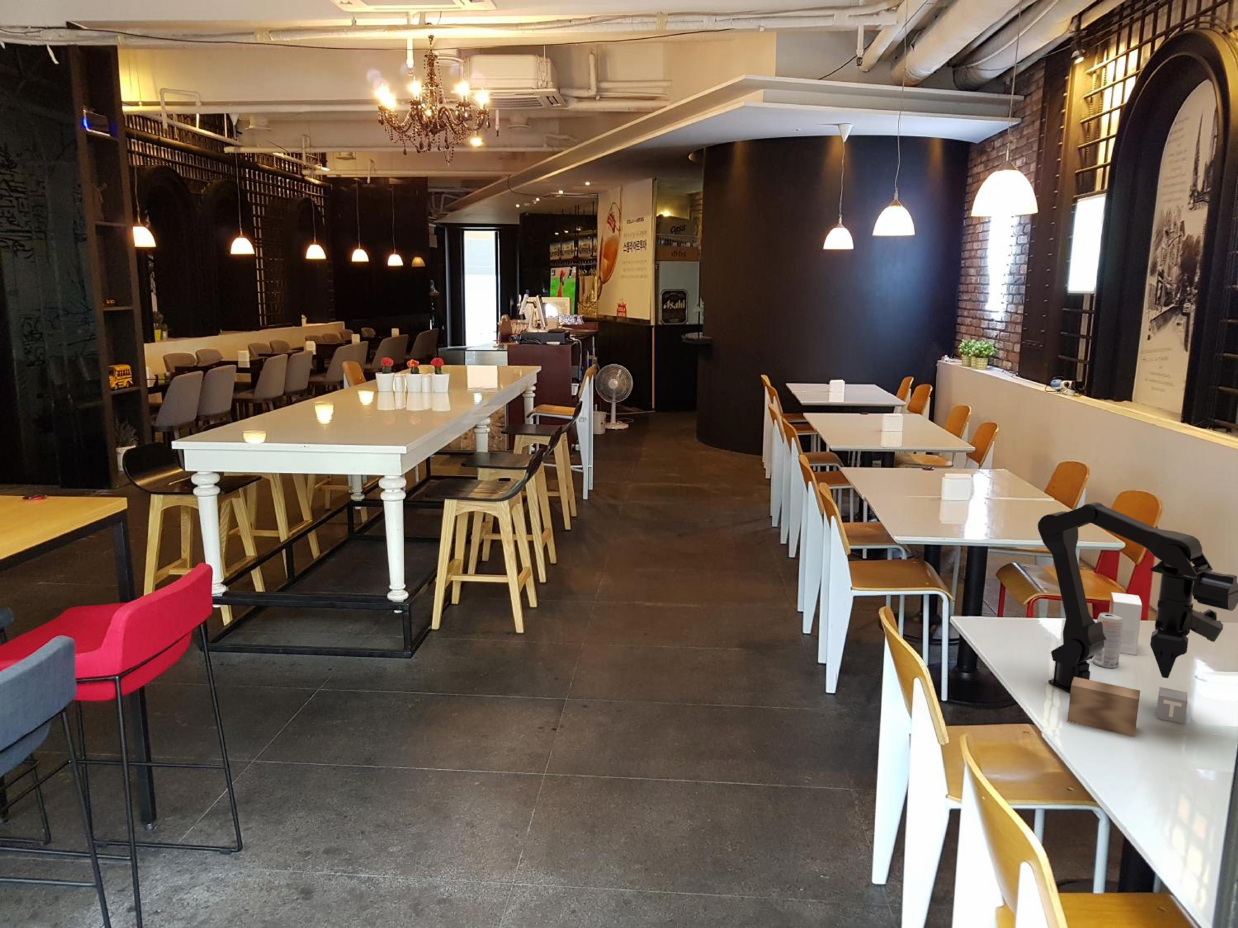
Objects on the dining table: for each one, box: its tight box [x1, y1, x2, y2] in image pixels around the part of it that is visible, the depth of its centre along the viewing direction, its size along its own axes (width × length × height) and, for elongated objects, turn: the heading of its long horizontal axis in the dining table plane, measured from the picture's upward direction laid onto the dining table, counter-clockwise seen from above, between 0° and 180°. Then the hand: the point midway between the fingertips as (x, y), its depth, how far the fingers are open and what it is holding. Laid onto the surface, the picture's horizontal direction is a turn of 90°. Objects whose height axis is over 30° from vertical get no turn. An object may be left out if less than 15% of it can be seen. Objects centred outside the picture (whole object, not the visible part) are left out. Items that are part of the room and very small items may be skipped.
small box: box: [1108, 591, 1143, 656], centre depth 225 cm, size 8×6×13 cm
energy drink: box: [1092, 612, 1124, 669], centre depth 214 cm, size 5×5×12 cm
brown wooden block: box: [1066, 677, 1141, 737], centre depth 183 cm, size 12×5×8 cm, turn 58°
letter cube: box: [1155, 686, 1188, 724], centre depth 188 cm, size 5×5×5 cm
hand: (1166, 670), depth 185 cm, fingers open, 9 cm apart
